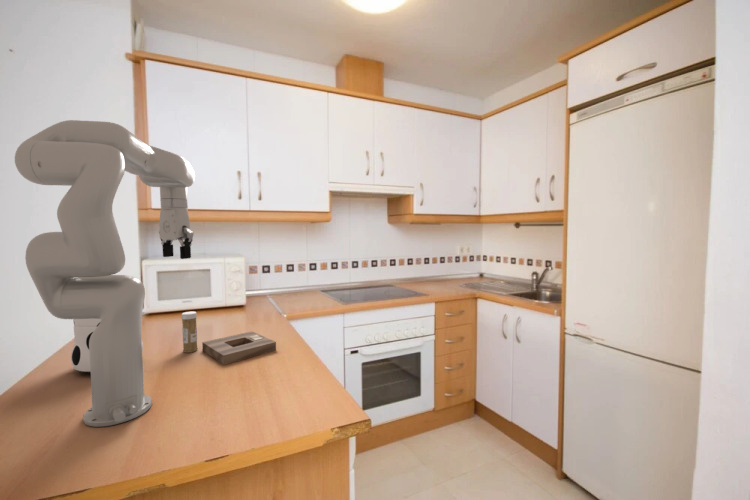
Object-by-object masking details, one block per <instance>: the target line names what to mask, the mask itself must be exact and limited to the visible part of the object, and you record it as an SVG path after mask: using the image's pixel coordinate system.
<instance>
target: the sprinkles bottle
mask: <svg viewBox="0 0 750 500" xmlns="http://www.w3.org/2000/svg"><path fill="white" fill-rule="evenodd" d="M197 313H198V312H196V311H194V310H193V311H185V312H182V313H181V321H182V327H181V329H182V343H183V345H182V346H183V347H182V348H183V349H182V352H183V353H186V354H188V353H189V354H190V353H194V352H196V351H198V331H197V330H198V329H197V317H198V316H197V315H198V314H197Z"/></svg>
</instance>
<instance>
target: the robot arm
mask: <svg viewBox="0 0 750 500" xmlns="http://www.w3.org/2000/svg"><path fill="white" fill-rule="evenodd" d="M14 164H15V166H16V167H15V168H16V170H17V171H18V173H19V174H20V175H21V176H22V177H23V178H24V179H26V180H27V181H29V182H31V183H34V184H37V185H42V186H68V187H69V186H71V187H70V188H69V189H68V191H67V192H66V193H65V194H64V196H63V197H62V199H61V200H60V202H59V203H58V206H57V210H56V211H57V212H56V215H57V216H56V217H57V221H58V223H59V226H60V229H61V231H49V232H43V233H39V234H38V235H35V237H33V238H32V239H31V240H30V241H29V243H28V245H27V247H26V250H25V258H24V259H25V265H26V267H27V270H28V273H29V276H30V278H31V280H32V281H33V284H34V285H35V287H36V290H37V292H38V294H39V295H40V297H41V300H42V303H43V304H44V306H45V308H46V309H47V311H48V312H49V313H50V314H51V315H52V316H53V317H55V318H57V319H60V320H73V319H92V318H93V319H101V322H100V324H99V325H98V326H97V328H96V329H95V330H94V332H93V333H92V335H91V337H90V340H89V351H90V371H91V373H90V387H91V406H92V407H91V408H89V409H88V410H87V411H85V412H84V414H83V420H82V421H83V424H85V425H86V426H88V427H94V428H95V427H97V428H98V427H99V428H100V427H102V428H103V427H110V426H114V425H115V426H116V425H118V424H123V423H125V422H128V421H131V420H134V419H136V418H138V417H139V416H141V415H143V414H145V413H147V411H148V410H149V409H150V408H151V407H152V405H153V400H152V397H151V396H150V395H148V394H145V388H144V385H145V384H144V368H143V367H144V366H143V365H144V364H143V363H144V362H143V351H142V342H143V338H142V318H143V308H144V304H145V297H146V289H145V286H144V284H143V281H141V280H140V279H138V278H137V277H135V276H133V275H132V276H131V275H127V274H126V275H124V274H117V273H119V272H121V271H122V270H123V269H124V267H125V265H126V255H125V250H124V247H123V243H122V241H121V238H120V235H119V231H118V227H117V223H116V221H115V218H114V213H113V204H114V199H115V196H116V194H117V192H118V189H119V186H120V184H121V182H122V179H124V178H123V177H124V176H125V172H127V173H129V174H132V175H135V176H138V178H139V180H140V181H141V182H142V183H143V184H144V185H146V186H148V187H151V188H159V196H160V197H159V198H160V212H159V221H158V222H159V225H158V226H159V231H158V234H159V239H160V241H161V246H162V257H163V258H169V257H174V244H173V241H177V240H178V242H179V243H180V246H179V256H180V257H179V258H180V260H181V259H182V260H184V259H185V260H186V259H191V258H192V249H191V248H192V247H191V246H192V245H193V244H192V243H193V239H194V238H193V237H194V232H193V231H192V230H191V225H190V224H191V223H190V217H189V212H188V207H189V206H188V188H189V187H191V186H192V185H193V184H194V182H195V177H196V175H195V170H194V169H193V167H192V165H191V163H190V162H189V161H188V160H186V158H184V157H183V156H181V155H179V154H177V153H173V152H171V151H168V150H164V149H161V148H158V147H156V146H153V145H149V144H146V142H144V141H143V140H141V139H140V138H139V137H137V136H136V135H135V134H133V133H132V132H131V131H129V130H128V129H127V128H126V127H124V126H122V125H120V124H118V123H115V122H112V121H111V122H110V121H100V120H99V121H98V120H97V121H96V120H95V121H94V120H79V119H78V120H77V119H76V120H75V119H74V120H73V119H68V120H63V121H59V122H57V123H55V124H52V125H50V126H49V127H46V128H44V129H42V130H41V131H39V132H37V133H36V134H34V135H32V136H31V137H29V138H27V139H26V140H24V141H22V143H20V145H19V146H18V147H17V149H16V151H15V154H14Z"/></svg>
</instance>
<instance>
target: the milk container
mask: <svg viewBox="0 0 750 500" xmlns="http://www.w3.org/2000/svg"><path fill="white" fill-rule="evenodd" d="M72 320H73V335H74V343H73V346H72V349H71V355H70V360H71V363H72V367H73V369H74V370H75V372H79V373H82V374H91V371H90V351H89V340H90V337H91V335H92V333H93V332H94V330H95V329H96V328H97V326H98V325H99V324H100V322H101V319H93V318H92V319H72ZM143 351H144V343H143V341H142V352H143Z"/></svg>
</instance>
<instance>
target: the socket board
mask: <svg viewBox="0 0 750 500" xmlns="http://www.w3.org/2000/svg"><path fill="white" fill-rule="evenodd" d="M201 343H202V352H204V353H205V354H207V355H208V356H210V357H211V358H213V359H215V360H216V361H218V363H220V364H221V365H223V366H224V365H228V364H232V363H235V362H238V361H242V360H246V359H249V358H252V357H253V358H254V357H257V356H261V355H264V354H269V353H272V352H275V351H277V341H275V340H273V339H270V338H268V337H266V336H264V335H261V334H259V333H256V332H254V331H252V330H251V331H247V332H243V333H239V334H233V335H228V336H223V337H220V338H216V339H211V340H210V339H209V340H206V341H202V342H201Z"/></svg>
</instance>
